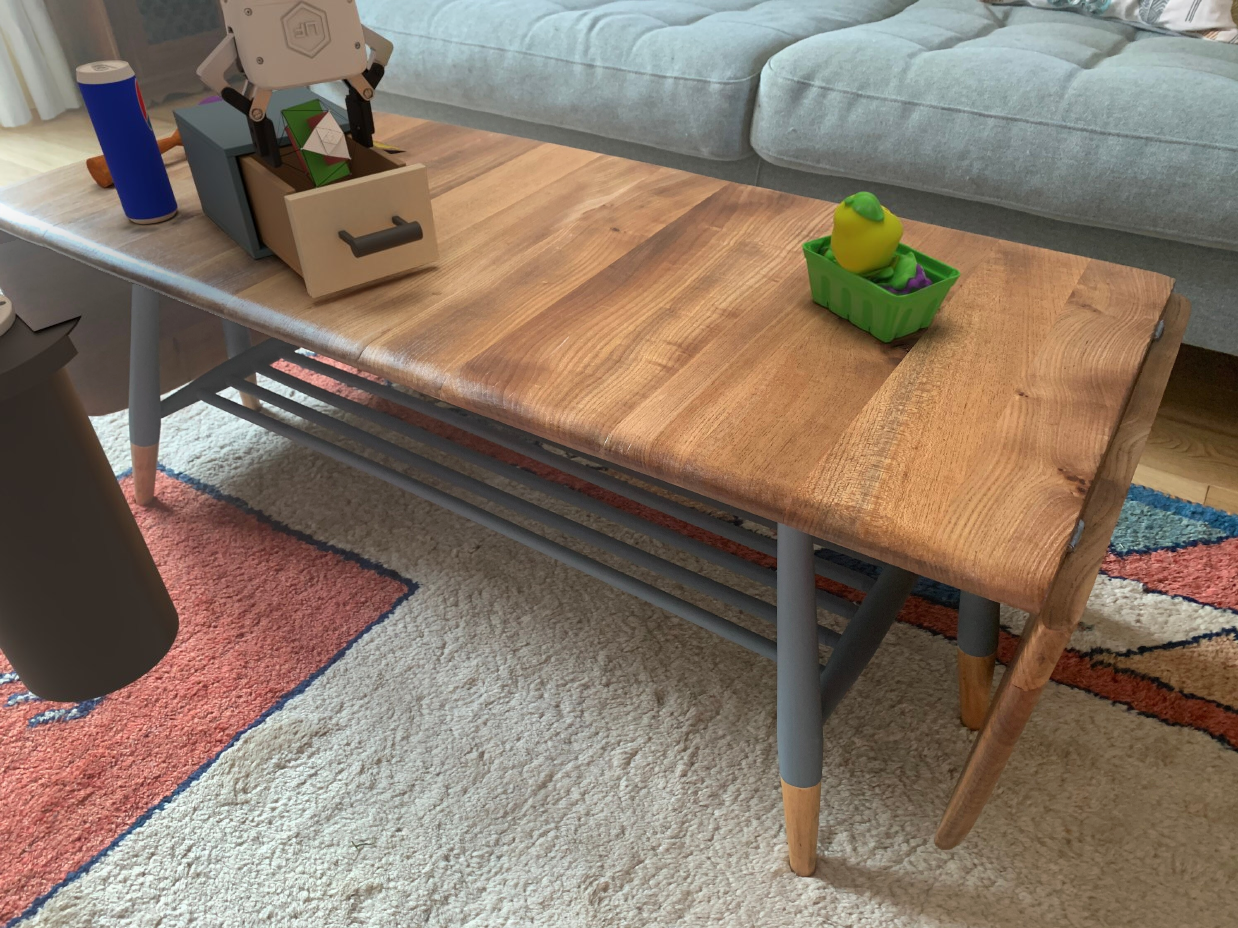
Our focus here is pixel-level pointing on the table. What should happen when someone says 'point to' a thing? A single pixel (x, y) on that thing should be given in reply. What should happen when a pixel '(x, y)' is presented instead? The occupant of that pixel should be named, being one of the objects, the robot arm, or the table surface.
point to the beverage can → (127, 140)
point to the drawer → (343, 217)
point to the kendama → (101, 170)
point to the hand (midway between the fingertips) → (318, 152)
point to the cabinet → (235, 158)
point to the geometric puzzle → (317, 142)
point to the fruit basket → (875, 272)
